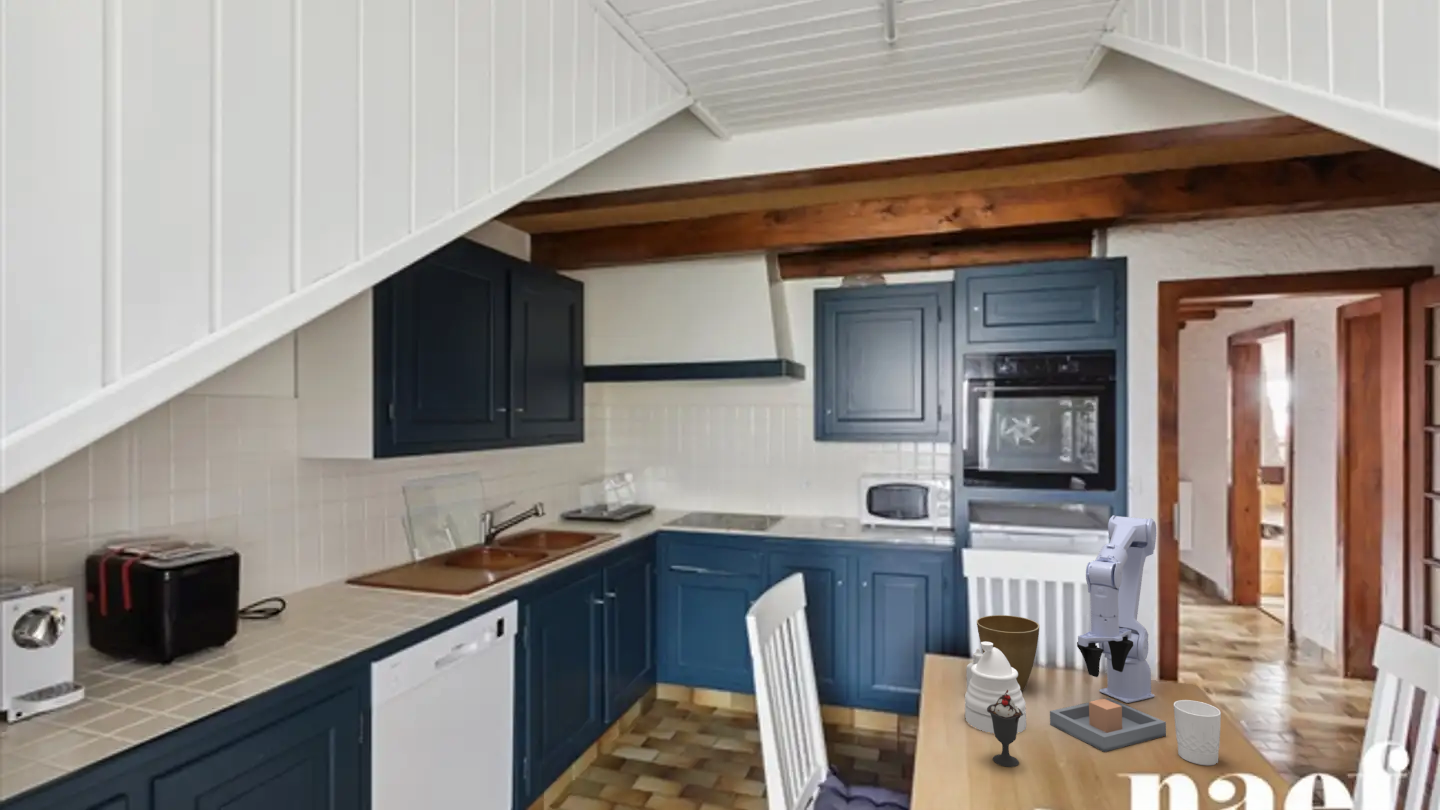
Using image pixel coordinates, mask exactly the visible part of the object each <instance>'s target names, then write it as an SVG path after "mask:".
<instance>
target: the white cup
mask: <svg viewBox="0 0 1440 810" xmlns="http://www.w3.org/2000/svg"><path fill="white" fill-rule="evenodd" d="M1173 712H1174V713H1173V715H1174V716H1173V717H1174V724H1175V725H1174V726H1175V729H1174V730H1175V735H1176V736H1175V737H1176V742H1177V753H1178V756H1179V757H1180V758H1181V759H1183V760H1185V761H1187V762H1189V763H1193V764H1195V765H1199V766H1215V765H1217V764H1218V763H1219V752H1220V751H1219V750H1220V744H1221V743H1220V742H1221V740H1220V739H1221V719H1222V717H1221V714H1222V713H1221V710H1220V709H1219V708H1217V707H1216V706H1214V705H1211V704H1209V703H1206V702H1202V701H1197V700H1190V699H1182V700H1181V699H1179V700H1176V701H1174V702H1173ZM1216 763H1217V764H1216Z"/></svg>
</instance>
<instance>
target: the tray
mask: <svg viewBox="0 0 1440 810" xmlns="http://www.w3.org/2000/svg"><path fill="white" fill-rule="evenodd" d="M1105 699H1106V700H1108V701H1111V702H1113V703H1116V704H1118V705H1120V706H1122V729H1121V730H1117V731H1113V732H1109V733H1106V732H1104V731H1102V730H1100V729H1098V728H1096V727H1093V726H1091V725H1089V702H1090V701H1088V702H1085V703H1080V704H1076V705H1071V706H1067V707H1063V708H1057V709H1053V710H1049V724H1050V726H1052V727H1055V728H1056V729H1058V730H1061V731H1062V732H1064V733H1066V734H1067V735H1070V736H1071V737H1073V738H1076V739H1078V740H1080V741H1081V742H1083V743H1086V744H1087V745H1090V746H1092V747H1094V748H1095V749H1097V750H1099V751H1101V752H1104V753H1105V752H1106V753H1107V752H1110V751H1114V750H1118V749H1122V748H1125V746H1126V747H1129V745H1130V746H1132V745H1137V744H1141V743H1145V742H1148V740H1149V741H1152V739H1153V740H1155V738H1157V739H1160V738H1163V737H1162V736H1164V737H1166V736H1167V721H1164V720H1162V719H1160V718H1157V717H1155V716H1152V715H1150V714H1148V713H1146V712H1143V711H1141V710H1139V709H1136V708H1134V707H1131V706H1129V705H1127V704H1125V703H1122V702H1121V701H1120V702H1119V700H1118V701H1117V700H1115V699H1114V698H1110V697H1107V698H1105ZM1159 737H1160V738H1159ZM1144 741H1145V742H1144ZM1136 743H1137V744H1136Z"/></svg>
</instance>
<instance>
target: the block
mask: <svg viewBox="0 0 1440 810" xmlns="http://www.w3.org/2000/svg"><path fill="white" fill-rule="evenodd" d="M1088 702H1089V725H1091V726H1093V727H1096V728H1098V729H1100V730H1102V731H1104V732H1106V733H1109V732H1113V731H1117V730H1121V729H1122V706H1120V705H1118V704H1116V703H1113V702H1111V701H1108V700H1106V698H1100V699H1096V700H1092V701H1088Z"/></svg>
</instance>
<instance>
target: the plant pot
mask: <svg viewBox="0 0 1440 810" xmlns="http://www.w3.org/2000/svg"><path fill="white" fill-rule="evenodd" d="M976 627H977V632H978V637H979V642H980V643H981V642H991V643H993V647H995V648H997V649H999V650H1000V651H1001V652H1002V653H1003V654H1004V655H1005V657H1006V658H1007V660H1008V662H1009V664H1010V666H1011V667H1012V668H1014V669H1015V670H1017V672H1018V677H1017V678H1016V680H1017V682H1018V684H1019V686H1020V690H1021V691H1023V690H1024V689H1026V687H1027V685H1028V682H1029V680H1030V679H1029V678H1030V676H1031V673H1032V670H1033V665H1034V662H1035V658H1036V654H1037V648H1038V643H1039V636H1040V635H1039V634H1040V624H1039V623H1038V622H1037V621H1035V620H1032V619H1030V618H1026V617H1023V616H1017V615H1007V614H1006V615H1004V614H1003V615H1002V614H998V615H996V614H993V615H986V616H982V617H979V618H978V619H976ZM981 651H982V654H983V653H984V652H985V651H984V650H983V649H982V648H981Z"/></svg>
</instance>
